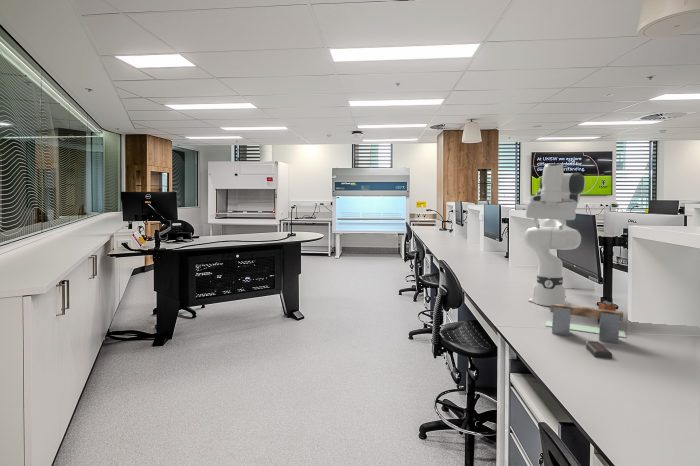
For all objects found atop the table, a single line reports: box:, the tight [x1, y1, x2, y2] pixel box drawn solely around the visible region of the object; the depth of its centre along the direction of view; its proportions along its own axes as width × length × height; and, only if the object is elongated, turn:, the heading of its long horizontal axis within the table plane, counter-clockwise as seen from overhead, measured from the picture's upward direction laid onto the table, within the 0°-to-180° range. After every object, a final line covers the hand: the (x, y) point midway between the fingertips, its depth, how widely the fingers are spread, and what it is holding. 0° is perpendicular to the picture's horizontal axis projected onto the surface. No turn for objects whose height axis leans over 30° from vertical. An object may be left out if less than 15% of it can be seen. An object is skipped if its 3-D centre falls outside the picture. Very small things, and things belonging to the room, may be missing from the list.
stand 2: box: [598, 313, 621, 344], centre depth 157 cm, size 6×6×10 cm
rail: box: [549, 303, 624, 323], centre depth 160 cm, size 24×3×3 cm, turn 60°
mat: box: [545, 320, 627, 339], centre depth 169 cm, size 8×28×1 cm, turn 60°
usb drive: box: [585, 340, 613, 360], centre depth 144 cm, size 5×12×3 cm, turn 168°
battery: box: [597, 300, 617, 324], centre depth 176 cm, size 4×7×10 cm, turn 168°
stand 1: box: [551, 307, 572, 337], centre depth 164 cm, size 6×6×10 cm
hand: (549, 229), depth 188 cm, fingers open, 8 cm apart
